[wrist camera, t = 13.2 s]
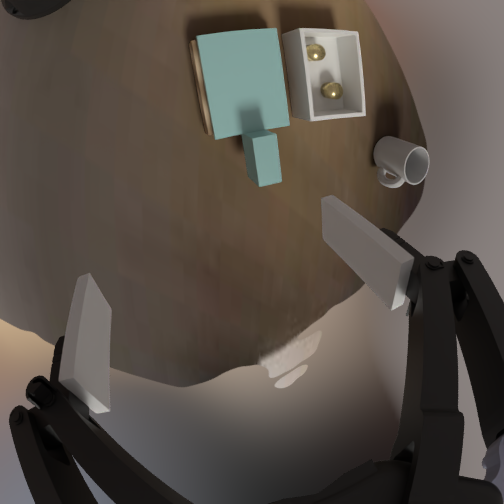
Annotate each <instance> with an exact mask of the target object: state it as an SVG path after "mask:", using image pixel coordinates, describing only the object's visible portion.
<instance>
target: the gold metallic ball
mask: <svg viewBox="0 0 504 504" xmlns="http://www.w3.org/2000/svg"><path fill="white" fill-rule="evenodd" d="M306 50H307V58H308V61H320V60H323V59H324V58H325V55H326V52H325V49H324V47H323V46H322V45H320V44H312V45H307V46H306Z"/></svg>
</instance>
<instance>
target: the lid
mask: <svg viewBox="0 0 504 504" xmlns="http://www.w3.org/2000/svg"><path fill="white" fill-rule="evenodd" d="M196 40H197V46H198V51H199V57H200V63H201V68H202V74H203V80H204V85H205V91H206V96H207V102H208V107H209V113H210V118H211V123H212V129H213V134H214V139H215V140H217V139H221V138H225V137H230V136H235V135H240V134H241V135H242V142H243V148H244V154H245V160H246V167H247V173H248V177H249V178H250V179H251V180H252V181H253V182H255V183H256V184H257V185H258V186H259V187H262V186H266V185H270V184H274V183H278V182H282V178H281V169H280V160H279V152H278V143H277V135H276V134H275V133H272V132H270V131H267V130H266V129H271V128H277V127H284V126H290V124H289V115H288V107H287V98H286V91H285V83H284V75H283V68H282V61H281V54H280V47H279V41H278V35H277V28H268V29H250V30H238V31H229V32H220V33H213V34H206V35H199V36H196Z"/></svg>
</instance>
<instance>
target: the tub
mask: <svg viewBox="0 0 504 504" xmlns="http://www.w3.org/2000/svg"><path fill="white" fill-rule="evenodd" d="M282 41H283V47H284V54H285V61H286V68H287V76H288V83H289V91H290V99H291V108H292V117H295V118H299V119H304V120H308V121H317V120H326V119H335V118H346V117H357V116H366V113H365V95H364V81H363V70H362V60H361V51H360V43H359V35H358V32H355V31H345V30H333V29H316V28H298V29H295V30H292V31H289V32H287V33H284V34H282ZM312 44H320V45H322V46H323V47H324V49H325V52H326V55H325V58H324V59H323V60H320V61H308V58H307V50H306V46H307V45H312ZM326 82H332V83H339V84H340V85H341V86H342V88H343V95H342V97H341V98H340V99H329V98H325V97H323V96H322V94H321V91H320V89H321V86H322V84H324V83H326Z"/></svg>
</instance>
